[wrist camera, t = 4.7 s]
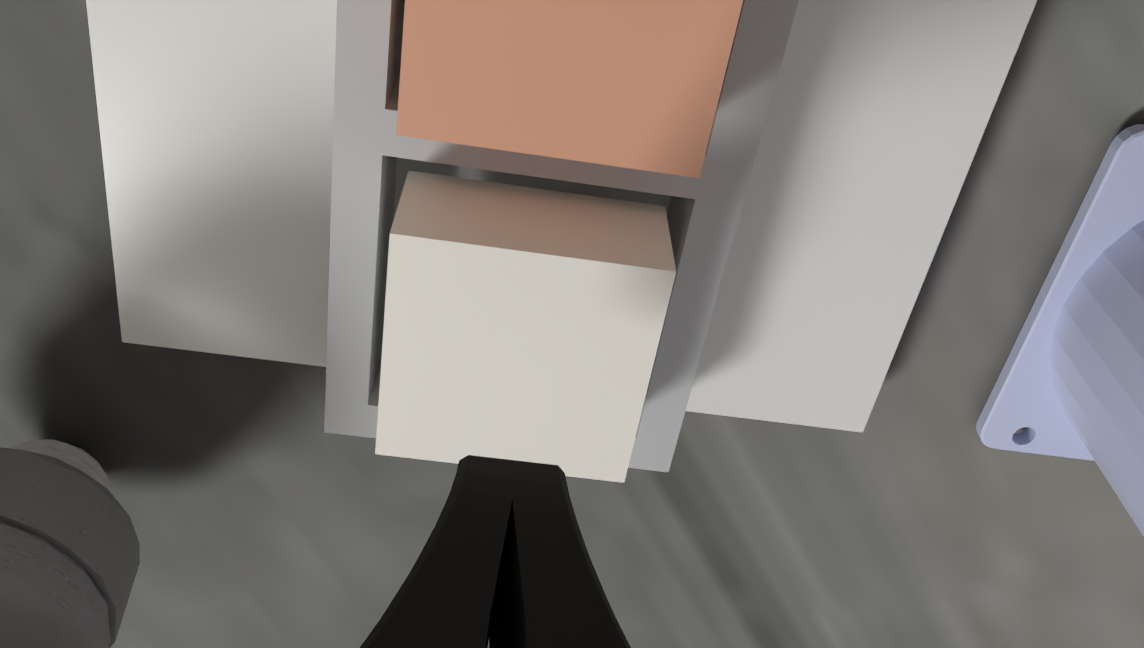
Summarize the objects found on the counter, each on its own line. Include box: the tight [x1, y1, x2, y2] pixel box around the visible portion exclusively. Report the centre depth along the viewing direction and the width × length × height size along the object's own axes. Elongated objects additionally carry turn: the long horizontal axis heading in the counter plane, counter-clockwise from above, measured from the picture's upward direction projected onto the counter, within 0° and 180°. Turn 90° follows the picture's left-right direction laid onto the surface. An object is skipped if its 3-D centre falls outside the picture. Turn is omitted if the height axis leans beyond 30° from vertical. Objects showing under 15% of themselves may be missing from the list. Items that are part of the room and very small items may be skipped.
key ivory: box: [375, 171, 676, 483], centre depth 18 cm, size 4×4×2 cm
